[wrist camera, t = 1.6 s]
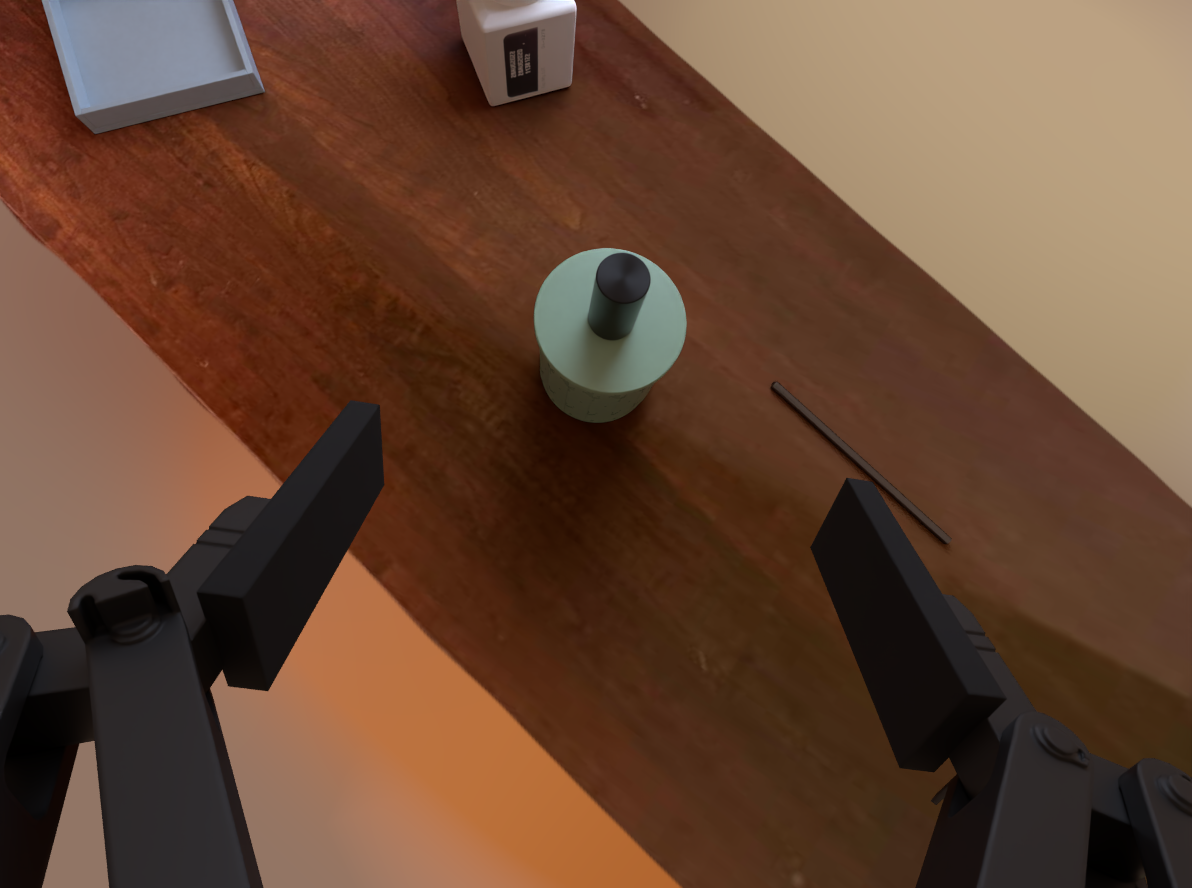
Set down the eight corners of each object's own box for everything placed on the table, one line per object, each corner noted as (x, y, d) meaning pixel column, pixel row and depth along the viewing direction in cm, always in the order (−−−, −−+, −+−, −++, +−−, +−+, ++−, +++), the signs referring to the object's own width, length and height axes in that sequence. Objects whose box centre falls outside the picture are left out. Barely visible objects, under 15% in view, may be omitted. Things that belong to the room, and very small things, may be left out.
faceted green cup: (564, 439, 44) (570, 409, 35) (524, 337, 45) (519, 282, 36) (667, 400, 46) (700, 362, 36) (625, 302, 47) (646, 241, 38)
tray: (95, 134, 45) (74, 115, 43) (55, -1, 47) (34, -25, 45) (265, 92, 47) (253, 72, 45) (220, -36, 49) (207, -60, 47)
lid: (566, 419, 35) (572, 389, 29) (512, 283, 37) (505, 225, 30) (705, 368, 37) (740, 329, 30) (648, 239, 38) (670, 175, 32)
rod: (773, 381, 47) (776, 378, 46) (946, 538, 46) (953, 537, 45) (768, 386, 47) (771, 384, 46) (942, 544, 46) (948, 544, 45)
